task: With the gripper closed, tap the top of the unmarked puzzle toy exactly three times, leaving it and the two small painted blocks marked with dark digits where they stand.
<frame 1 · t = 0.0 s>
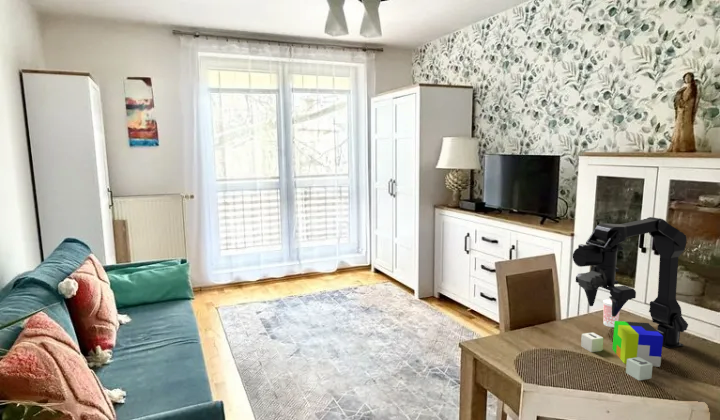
hand: (602, 311, 137), 15 cm above the table, tool pointing down, fingers open, 9 cm apart
digit block one: (591, 348, 144), on the table
digit block seven: (638, 375, 126), on the table
puzzle toy: (635, 358, 137), on the table
beverage cup: (610, 325, 162), on the table
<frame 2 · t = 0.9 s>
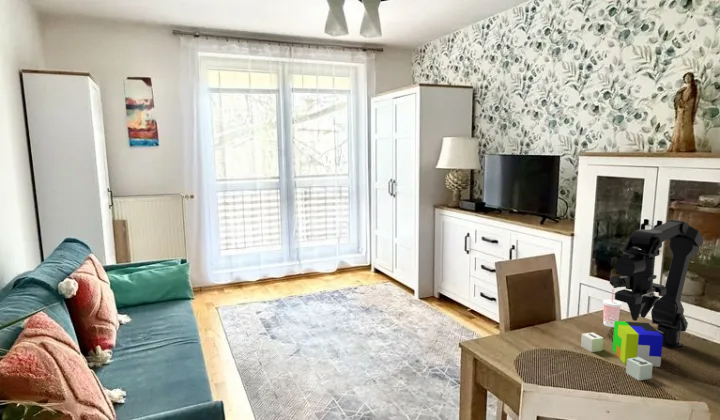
hand: (638, 318, 135), 13 cm above the table, tool pointing down, fingers open, 4 cm apart
nothing on the table moved.
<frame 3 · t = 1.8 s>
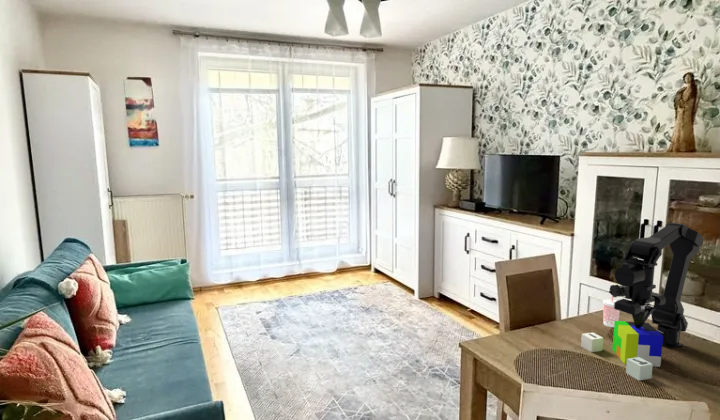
hand: (637, 328, 136), 10 cm above the table, tool pointing down, fingers closed, pressing on puzzle toy
puzzle toy: (635, 358, 137), on the table, touching gripper
everything else where it was.
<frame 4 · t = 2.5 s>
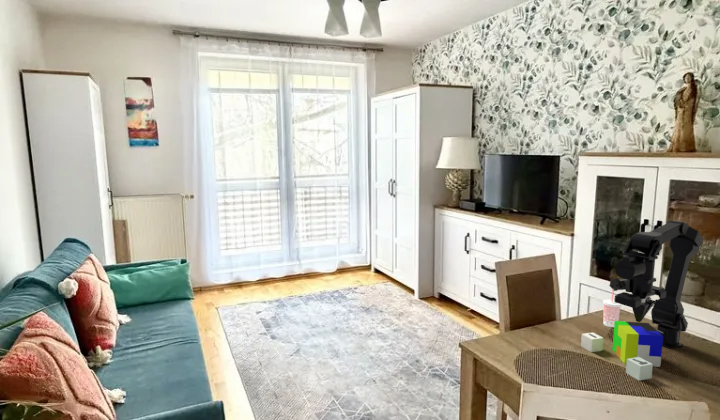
hand: (638, 321, 135), 12 cm above the table, tool pointing down, fingers closed
puzzle toy: (635, 358, 137), on the table
everything else where it was.
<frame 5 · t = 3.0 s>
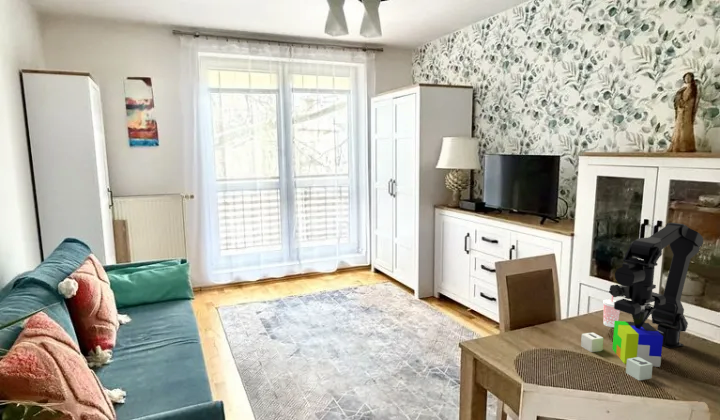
hand: (637, 328, 136), 10 cm above the table, tool pointing down, fingers closed, pressing on puzzle toy
puzzle toy: (635, 358, 137), on the table, touching gripper
everything else where it was.
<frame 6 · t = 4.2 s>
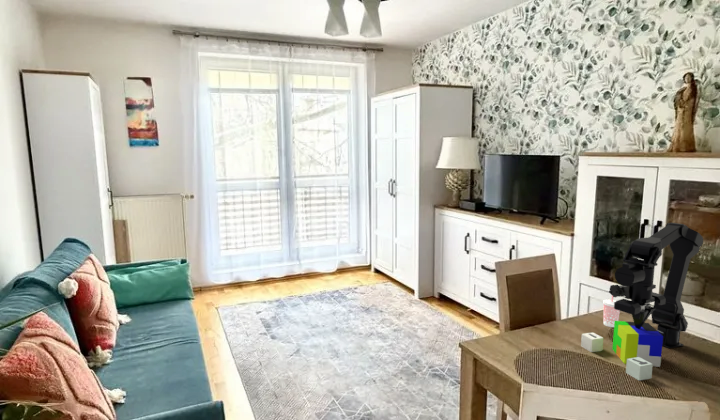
hand: (637, 328, 136), 10 cm above the table, tool pointing down, fingers closed, pressing on puzzle toy
puzzle toy: (635, 358, 137), on the table, touching gripper
everything else where it was.
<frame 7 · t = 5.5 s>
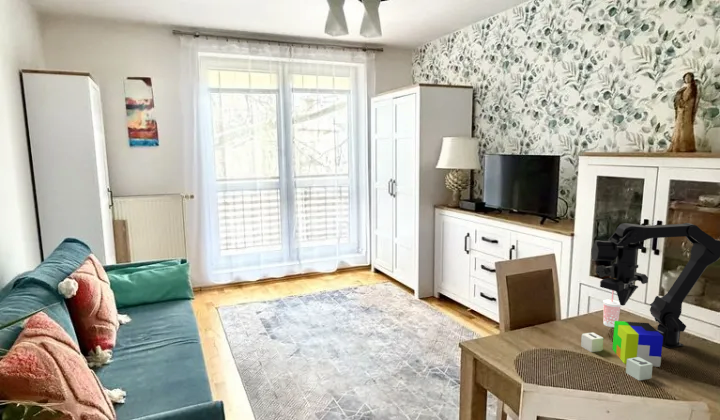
hand: (622, 305, 147), 13 cm above the table, tool pointing down, fingers closed
puzzle toy: (635, 358, 137), on the table
everything else where it was.
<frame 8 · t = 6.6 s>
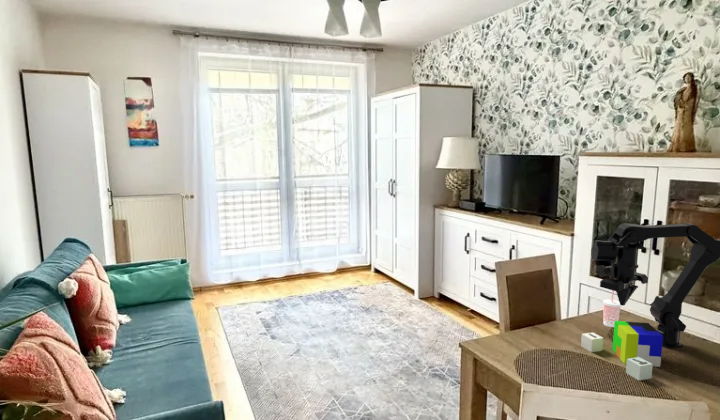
hand: (622, 305, 147), 13 cm above the table, tool pointing down, fingers closed
nothing on the table moved.
at the end: puzzle toy moved 0.3 cm from its start; digit block one moved 0.1 cm from its start; digit block seven moved 0.1 cm from its start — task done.
